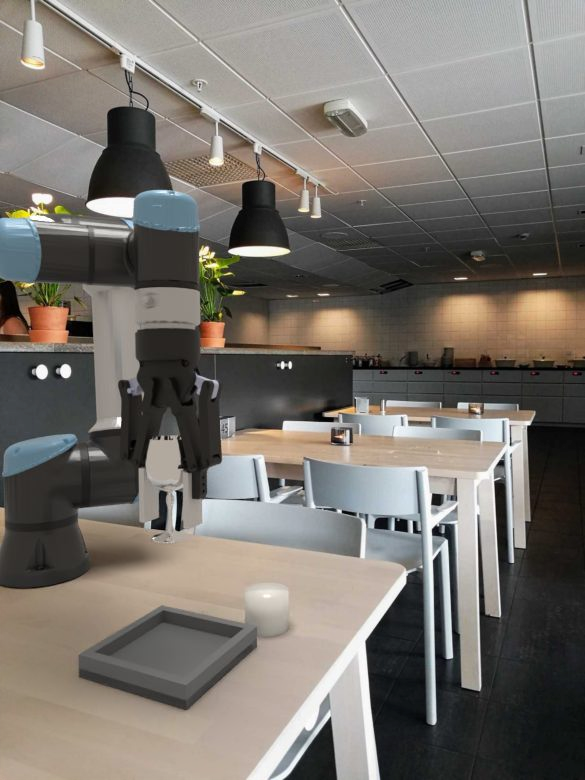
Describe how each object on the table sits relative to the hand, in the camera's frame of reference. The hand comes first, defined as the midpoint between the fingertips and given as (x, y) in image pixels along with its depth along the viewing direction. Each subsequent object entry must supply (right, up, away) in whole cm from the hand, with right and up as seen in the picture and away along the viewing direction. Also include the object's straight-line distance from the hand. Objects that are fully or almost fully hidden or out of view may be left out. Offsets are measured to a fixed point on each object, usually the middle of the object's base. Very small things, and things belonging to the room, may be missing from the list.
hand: (170, 522), depth 69 cm
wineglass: (0, -2, 0) cm, 2 cm away
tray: (0, -17, +1) cm, 17 cm away
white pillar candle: (+11, -17, +10) cm, 22 cm away
